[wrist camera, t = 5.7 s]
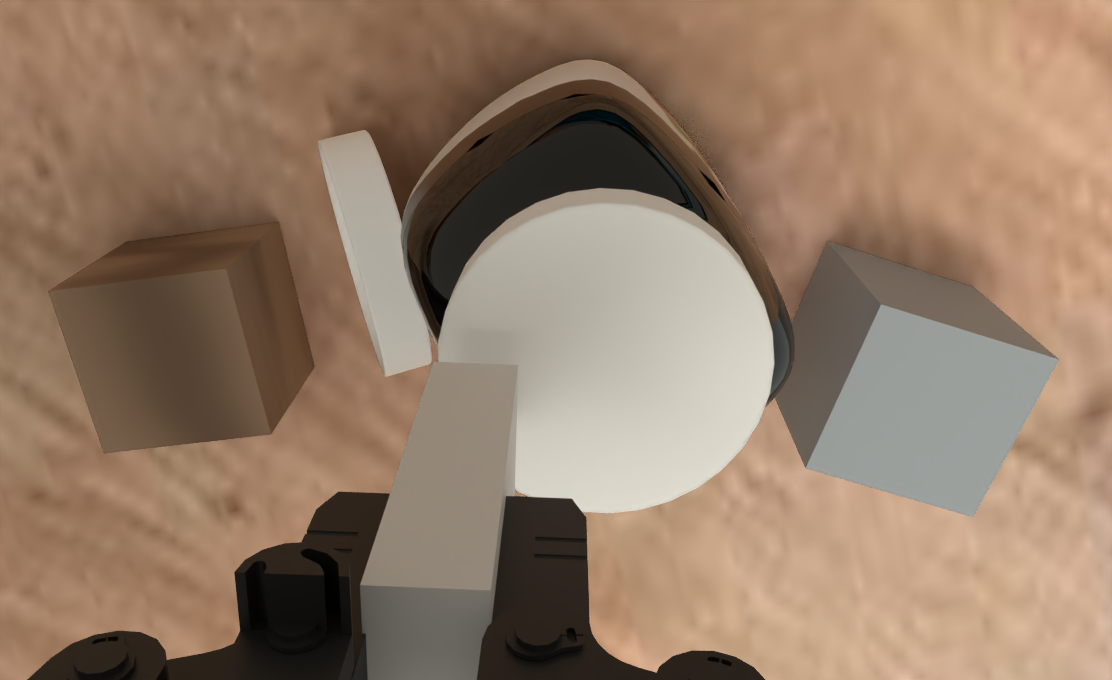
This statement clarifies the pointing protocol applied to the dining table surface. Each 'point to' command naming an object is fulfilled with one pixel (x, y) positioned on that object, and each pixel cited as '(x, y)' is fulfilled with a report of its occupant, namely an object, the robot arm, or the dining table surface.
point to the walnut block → (186, 337)
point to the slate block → (907, 380)
